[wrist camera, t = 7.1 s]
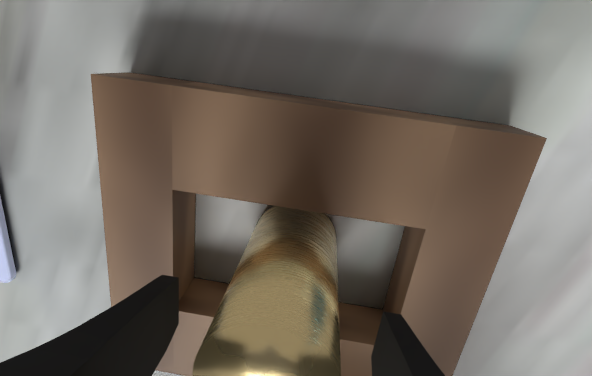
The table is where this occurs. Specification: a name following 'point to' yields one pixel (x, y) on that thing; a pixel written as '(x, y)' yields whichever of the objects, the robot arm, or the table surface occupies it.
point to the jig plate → (307, 197)
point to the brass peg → (279, 303)
